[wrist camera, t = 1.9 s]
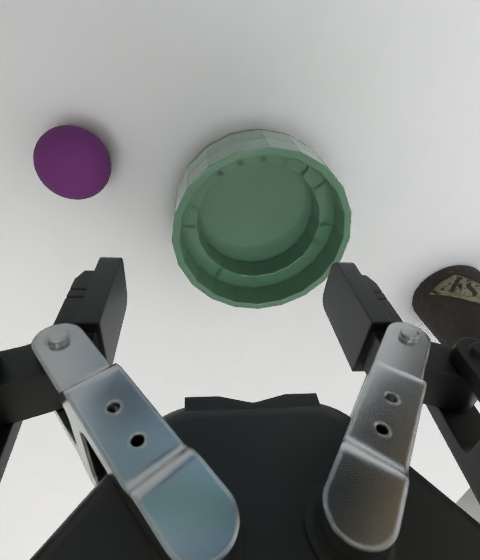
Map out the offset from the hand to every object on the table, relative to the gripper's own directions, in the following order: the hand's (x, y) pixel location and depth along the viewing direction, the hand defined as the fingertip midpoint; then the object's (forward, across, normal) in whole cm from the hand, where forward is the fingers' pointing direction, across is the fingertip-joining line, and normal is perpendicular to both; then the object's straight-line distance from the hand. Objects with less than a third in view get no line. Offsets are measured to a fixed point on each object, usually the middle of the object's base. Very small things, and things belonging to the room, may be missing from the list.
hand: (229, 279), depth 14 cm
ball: (+19, +11, +2) cm, 22 cm away
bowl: (+21, -5, +7) cm, 23 cm away
